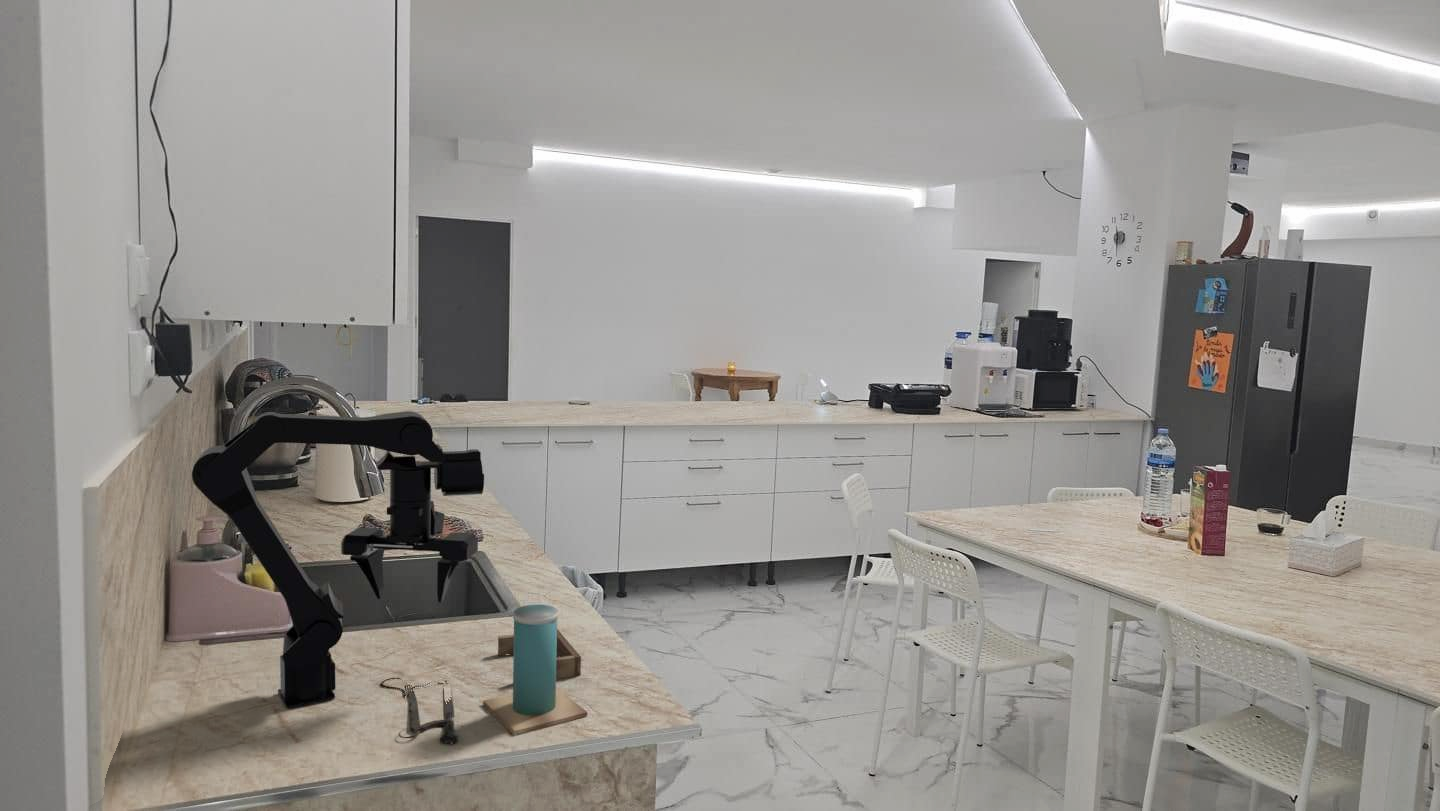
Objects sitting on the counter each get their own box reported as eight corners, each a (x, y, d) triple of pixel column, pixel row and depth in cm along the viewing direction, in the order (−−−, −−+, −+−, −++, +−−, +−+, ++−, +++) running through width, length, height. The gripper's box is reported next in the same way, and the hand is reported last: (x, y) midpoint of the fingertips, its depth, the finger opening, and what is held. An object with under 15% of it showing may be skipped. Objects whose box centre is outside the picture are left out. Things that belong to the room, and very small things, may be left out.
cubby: (517, 684, 139) (517, 665, 139) (498, 654, 151) (498, 636, 150) (580, 675, 143) (581, 656, 143) (557, 646, 155) (557, 628, 155)
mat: (514, 735, 123) (514, 730, 123) (483, 704, 132) (483, 700, 132) (587, 715, 130) (587, 711, 130) (552, 687, 138) (552, 684, 138)
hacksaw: (458, 748, 120) (458, 737, 120) (374, 758, 116) (374, 746, 116) (451, 675, 142) (451, 665, 142) (380, 681, 139) (380, 672, 139)
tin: (509, 716, 127) (511, 619, 126) (514, 697, 133) (515, 604, 132) (555, 715, 128) (557, 619, 127) (557, 696, 134) (559, 604, 133)
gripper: (489, 489, 142) (488, 586, 144) (371, 483, 143) (372, 580, 145) (466, 505, 131) (465, 610, 133) (339, 499, 132) (339, 603, 134)
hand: (410, 600), depth 137 cm, fingers open, 9 cm apart
